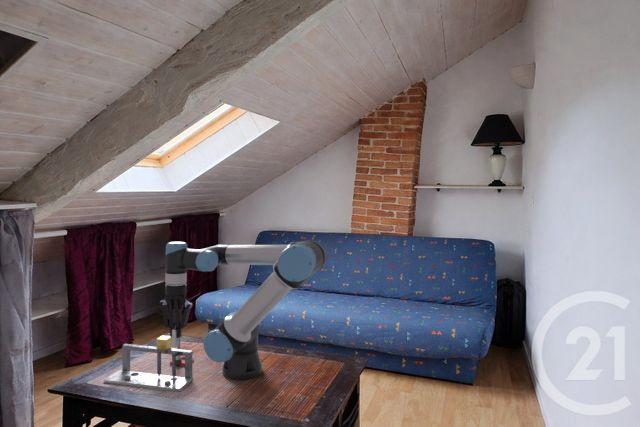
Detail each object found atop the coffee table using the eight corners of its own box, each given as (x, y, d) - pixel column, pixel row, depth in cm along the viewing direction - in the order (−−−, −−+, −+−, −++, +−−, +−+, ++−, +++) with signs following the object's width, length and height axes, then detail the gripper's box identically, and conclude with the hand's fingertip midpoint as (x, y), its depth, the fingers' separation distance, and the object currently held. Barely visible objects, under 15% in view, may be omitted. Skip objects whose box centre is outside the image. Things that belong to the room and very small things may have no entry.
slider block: (171, 370, 177) (171, 336, 176) (163, 377, 171) (163, 341, 170) (162, 369, 178) (162, 335, 177) (153, 376, 172) (153, 340, 171)
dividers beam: (192, 377, 175) (192, 350, 174) (185, 383, 170) (185, 355, 169) (125, 370, 180) (125, 343, 179) (117, 375, 175) (117, 348, 175)
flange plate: (191, 381, 172) (191, 376, 172) (179, 391, 163) (179, 386, 163) (119, 372, 178) (119, 367, 178) (103, 382, 169) (103, 377, 169)
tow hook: (177, 358, 195) (167, 365, 186) (178, 327, 194) (168, 333, 185) (197, 359, 193) (187, 367, 184) (197, 328, 193) (188, 335, 184)
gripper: (197, 282, 175) (196, 344, 176) (165, 280, 177) (165, 340, 179) (187, 287, 167) (186, 351, 169) (154, 284, 170) (154, 347, 172)
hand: (175, 345), depth 174 cm, fingers closed
